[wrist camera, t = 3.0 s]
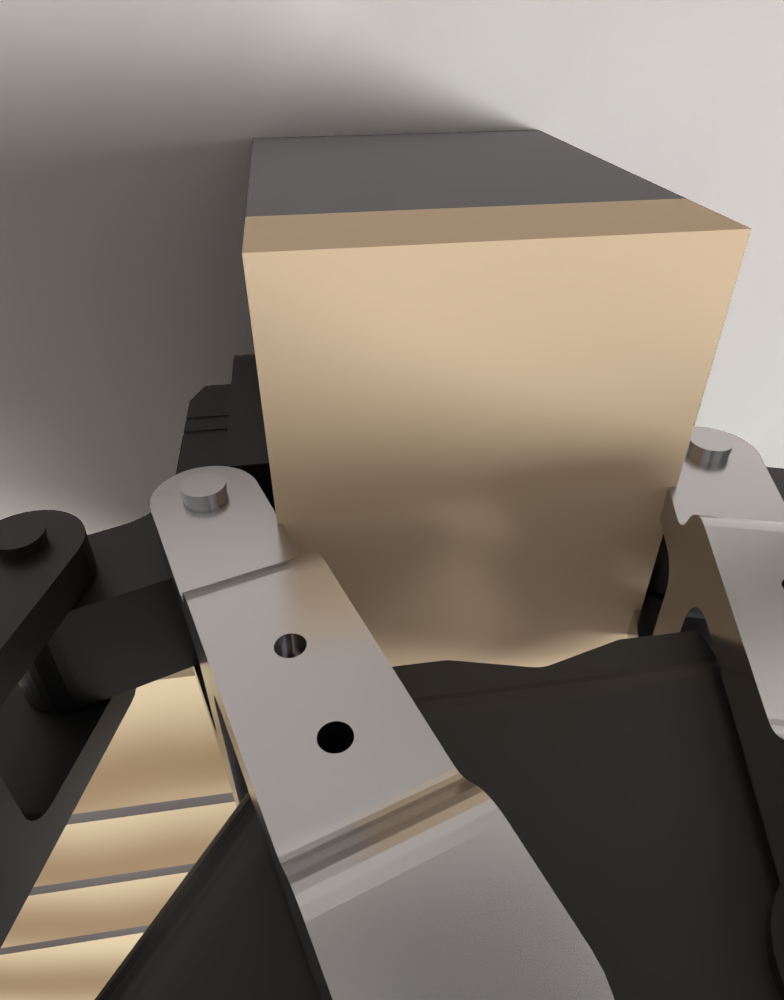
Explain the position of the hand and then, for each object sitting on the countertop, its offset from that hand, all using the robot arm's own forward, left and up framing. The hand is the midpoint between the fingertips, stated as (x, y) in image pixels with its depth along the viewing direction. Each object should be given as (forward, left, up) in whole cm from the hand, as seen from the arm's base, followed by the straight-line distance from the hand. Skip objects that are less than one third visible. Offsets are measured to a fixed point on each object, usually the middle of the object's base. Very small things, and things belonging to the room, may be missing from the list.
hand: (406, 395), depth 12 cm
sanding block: (0, 0, -1) cm, 1 cm away
